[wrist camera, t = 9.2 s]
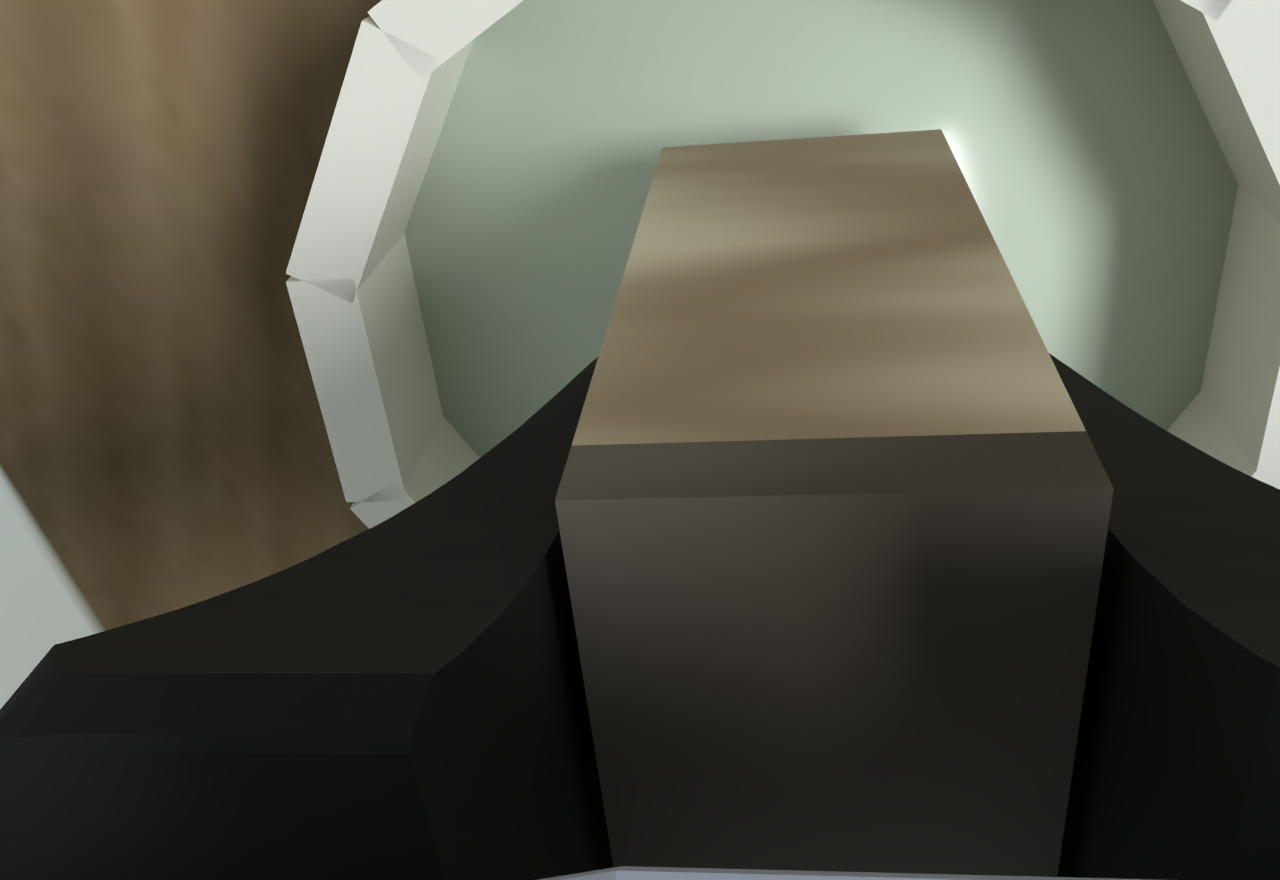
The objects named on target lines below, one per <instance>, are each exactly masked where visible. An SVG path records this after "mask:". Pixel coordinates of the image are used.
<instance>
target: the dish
mask: <svg viewBox="0 0 1280 880" xmlns="http://www.w3.org/2000/svg"><path fill="white" fill-rule="evenodd" d="M368 14H369V15H370V16H369V17H367V18H365V19H364V20H362V22H361V25H360V28H359V32H358V35H357V38H356V42H355V45H354V48H353V52H352V55H351V58H350V62H349V65H348V68H347V72H346V75H345V78H344V81H343V85H342V88H341V91H340V95H339V98H338V101H337V105H336V108H335V111H334V115H333V118H332V121H331V125H330V128H329V131H328V135H327V138H326V141H325V145H324V148H323V151H322V154H321V158H320V161H319V164H318V168H317V171H316V174H315V178H314V181H313V184H312V188H311V191H310V194H309V198H308V201H307V204H306V208H305V211H304V214H303V218H302V221H301V224H300V227H299V231H298V234H297V237H296V241H295V244H294V247H293V251H292V254H291V257H290V261H289V264H288V267H287V271H286V274H288V275H290V276H291V277H290V278H289V279H288V280H287V281H286V285H287V288H288V292H289V296H290V299H291V303H292V307H293V310H294V314H295V318H296V321H297V325H298V329H299V332H300V336H301V339H302V343H303V347H304V350H305V354H306V358H307V361H308V365H309V369H310V372H311V376H312V379H313V383H314V387H315V390H316V394H317V398H318V401H319V405H320V409H321V412H322V416H323V420H324V423H325V427H326V430H327V434H328V438H329V441H330V445H331V449H332V452H333V456H334V460H335V463H336V467H337V470H338V474H339V478H340V481H341V485H342V489H343V492H344V496H345V500H346V502H354V503H353V504H352V506H351V508H350V509H351V510H352V511H353V512H354V513H355V514H356V516H357V517H358V518H359V519H360V520H361V521H362V522H363V523H364V524H365V525H366V526H367V527H368V528H369V529H370V528H372V527H374V526H376V525H378V524H380V523H382V522H384V521H385V520H387V519H389V518H391V517H392V516H394V515H396V514H397V513H399V512H401V511H402V510H404V509H406V508H407V507H409V506H411V505H412V504H414V503H416V502H417V501H419V500H421V499H422V498H424V497H425V496H427V495H429V494H430V493H432V492H433V491H435V490H436V489H438V488H439V487H441V486H442V485H444V484H445V483H447V482H448V481H450V480H451V479H453V478H454V477H455V476H457V475H458V474H460V473H461V472H463V471H464V470H465V469H466V468H468V467H469V466H470V465H472V464H473V463H474V462H475V461H477V460H478V459H479V458H481V457H482V456H483V455H484V454H486V453H487V452H488V451H490V450H491V449H492V448H493V447H495V446H496V445H497V444H499V443H500V442H501V441H502V440H504V439H505V438H506V437H508V436H509V435H510V434H511V433H513V432H514V431H515V430H516V429H518V428H519V427H520V426H521V425H522V424H524V423H525V422H526V421H527V420H528V419H529V418H530V417H531V416H533V415H534V414H535V413H536V412H537V411H538V410H539V409H540V408H542V407H543V406H544V405H545V404H546V403H547V402H548V401H549V400H551V399H552V398H553V397H554V396H555V395H556V394H557V393H558V392H560V391H561V390H562V389H563V388H564V387H565V386H566V385H567V384H568V383H569V382H570V381H571V380H572V379H574V378H575V377H576V376H577V375H578V374H579V373H580V372H581V371H582V370H583V369H584V368H585V367H587V366H588V365H589V364H590V363H591V362H592V361H593V360H595V359H596V358H597V357H598V356H599V354H600V350H601V347H602V344H603V340H604V337H605V334H606V331H607V327H608V324H609V321H610V317H611V314H612V311H613V308H614V304H615V301H616V298H617V294H618V291H619V288H620V285H621V281H622V278H623V275H624V271H625V268H626V265H627V262H628V258H629V255H630V252H631V249H632V245H633V242H634V239H635V235H636V232H637V229H638V226H639V222H640V219H641V216H642V212H643V209H644V206H645V203H646V199H647V196H648V193H649V189H650V186H651V183H652V180H653V176H654V173H655V170H656V166H657V163H658V160H659V157H660V153H661V150H662V147H677V146H692V145H707V144H723V143H738V142H753V141H769V140H784V139H799V138H815V137H830V136H845V135H861V134H876V133H891V132H907V131H922V130H937V129H941V130H942V132H943V134H944V136H945V138H946V140H947V142H948V144H949V146H950V149H951V151H952V153H953V155H954V157H955V159H956V161H957V163H958V165H959V167H960V169H961V171H962V174H963V176H964V178H965V180H966V182H967V184H968V186H969V188H970V190H971V192H972V194H973V196H974V199H975V201H976V203H977V205H978V207H979V209H980V211H981V213H982V215H983V217H984V219H985V221H986V224H987V226H988V228H989V230H990V232H991V234H992V236H993V238H994V240H995V242H996V244H997V246H998V249H999V251H1000V253H1001V255H1002V257H1003V259H1004V261H1005V263H1006V265H1007V267H1008V269H1009V271H1010V274H1011V276H1012V278H1013V280H1014V282H1015V284H1016V286H1017V288H1018V290H1019V292H1020V294H1021V296H1022V298H1023V301H1024V303H1025V305H1026V307H1027V309H1028V311H1029V313H1030V315H1031V317H1032V319H1033V321H1034V323H1035V326H1036V328H1037V330H1038V332H1039V334H1040V336H1041V338H1042V340H1043V342H1044V344H1045V346H1046V348H1047V351H1048V353H1050V354H1051V355H1053V356H1054V357H1056V358H1057V359H1058V360H1060V361H1061V362H1063V363H1064V364H1066V365H1067V366H1069V367H1070V368H1071V369H1073V370H1074V371H1076V372H1077V373H1079V374H1080V375H1081V376H1083V377H1084V378H1086V379H1087V380H1089V381H1090V382H1092V383H1093V384H1095V385H1096V386H1097V387H1099V388H1100V389H1102V390H1103V391H1105V392H1106V393H1108V394H1109V395H1111V396H1112V397H1114V398H1115V399H1117V400H1118V401H1120V402H1121V403H1123V404H1124V405H1126V406H1127V407H1129V408H1131V409H1132V410H1134V411H1135V412H1137V413H1138V414H1140V415H1142V416H1143V417H1145V418H1146V419H1148V420H1150V421H1151V422H1153V423H1155V424H1156V425H1158V426H1159V427H1161V428H1163V429H1164V430H1166V431H1168V432H1169V433H1171V434H1173V435H1175V436H1176V437H1178V438H1180V439H1182V440H1183V441H1185V442H1187V443H1189V444H1191V445H1192V446H1194V447H1196V448H1198V449H1199V450H1201V451H1203V452H1205V453H1207V454H1208V455H1210V456H1212V457H1214V458H1215V459H1217V460H1219V461H1221V462H1223V463H1225V464H1227V465H1229V466H1231V467H1233V468H1235V469H1237V470H1239V471H1241V472H1243V473H1245V474H1247V475H1249V476H1251V477H1253V478H1255V479H1257V480H1260V481H1262V482H1264V483H1266V484H1268V485H1271V486H1273V487H1275V488H1277V489H1280V0H381V1H380V2H379V3H378V4H376V5H375V6H374V7H373V8H372V9H370V10H369V11H368Z"/></svg>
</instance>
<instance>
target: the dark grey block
mask: <svg viewBox="0 0 1280 880" xmlns="http://www.w3.org/2000/svg"><path fill="white" fill-rule="evenodd" d="M1113 490H1114V488H1113V486H1112V484H1111V482H1110V480H1109V478H1108V476H1107V473H1106V471H1105V469H1104V467H1103V465H1102V463H1101V461H1100V459H1099V457H1098V455H1097V453H1096V451H1095V448H1094V446H1093V444H1092V442H1091V440H1090V438H1089V436H1088V434H1087V432H1086V430H1085V428H1084V426H1083V423H1082V421H1081V419H1080V417H1079V415H1078V413H1077V411H1076V409H1075V407H1074V405H1073V403H1072V401H1071V398H1070V396H1069V394H1068V392H1067V390H1066V388H1065V386H1064V384H1063V382H1062V380H1061V378H1060V376H1059V373H1058V371H1057V369H1056V367H1055V365H1054V363H1053V361H1052V359H1051V357H1050V355H1049V353H1048V351H1047V348H1046V346H1045V344H1044V342H1043V340H1042V338H1041V336H1040V334H1039V332H1038V330H1037V328H1036V326H1035V323H1034V321H1033V319H1032V317H1031V315H1030V313H1029V311H1028V309H1027V307H1026V305H1025V303H1024V301H1023V298H1022V296H1021V294H1020V292H1019V290H1018V288H1017V286H1016V284H1015V282H1014V280H1013V278H1012V276H1011V274H1010V271H1009V269H1008V267H1007V265H1006V263H1005V261H1004V259H1003V257H1002V255H1001V253H1000V251H999V249H998V246H997V244H996V242H995V240H994V238H993V236H992V234H991V232H990V230H989V228H988V226H987V224H986V221H985V219H984V217H983V215H982V213H981V211H980V209H979V207H978V205H977V203H976V201H975V199H974V196H973V194H972V192H971V190H970V188H969V186H968V184H967V182H966V180H965V178H964V176H963V174H962V171H961V169H960V167H959V165H958V163H957V161H956V159H955V157H954V155H953V153H952V151H951V149H950V146H949V144H948V142H947V140H946V138H945V136H944V134H943V132H942V130H941V129H937V130H922V131H907V132H891V133H876V134H861V135H845V136H830V137H815V138H799V139H784V140H769V141H753V142H738V143H723V144H707V145H692V146H677V147H662V150H661V153H660V157H659V160H658V163H657V166H656V170H655V173H654V176H653V180H652V183H651V186H650V189H649V193H648V196H647V199H646V203H645V206H644V209H643V212H642V216H641V219H640V222H639V226H638V229H637V232H636V235H635V239H634V242H633V245H632V249H631V252H630V255H629V258H628V262H627V265H626V268H625V271H624V275H623V278H622V281H621V285H620V288H619V291H618V294H617V298H616V301H615V304H614V308H613V311H612V314H611V317H610V321H609V324H608V327H607V331H606V334H605V337H604V340H603V344H602V347H601V350H600V354H599V357H598V360H597V363H596V367H595V370H594V373H593V377H592V380H591V383H590V386H589V390H588V393H587V396H586V400H585V403H584V406H583V409H582V413H581V416H580V419H579V423H578V426H577V429H576V432H575V436H574V439H573V442H572V445H571V449H570V452H569V455H568V459H567V462H566V465H565V468H564V472H563V475H562V478H561V482H560V485H559V488H558V491H557V495H556V498H555V505H556V511H557V517H558V524H559V530H560V536H561V542H562V549H563V555H564V561H565V567H566V574H567V580H568V586H569V592H570V599H571V605H572V611H573V617H574V624H575V630H576V636H577V642H578V649H579V655H580V661H581V667H582V674H583V680H584V686H585V692H586V699H587V705H588V711H589V717H590V724H591V730H592V736H593V742H594V749H595V755H596V761H597V767H598V774H599V780H600V786H601V792H602V799H603V805H604V811H605V817H606V824H607V830H608V836H609V842H610V849H611V855H612V861H613V867H620V866H635V867H675V868H715V869H755V870H795V871H835V872H875V873H915V874H955V875H995V876H1035V877H1057V875H1058V869H1059V862H1060V855H1061V848H1062V841H1063V834H1064V827H1065V820H1066V813H1067V807H1068V800H1069V793H1070V786H1071V779H1072V772H1073V765H1074V758H1075V751H1076V745H1077V738H1078V731H1079V724H1080V717H1081V710H1082V703H1083V696H1084V690H1085V683H1086V676H1087V669H1088V662H1089V655H1090V648H1091V641H1092V634H1093V628H1094V621H1095V614H1096V607H1097V600H1098V593H1099V586H1100V579H1101V573H1102V566H1103V559H1104V552H1105V545H1106V538H1107V531H1108V524H1109V517H1110V511H1111V504H1112V497H1113Z"/></svg>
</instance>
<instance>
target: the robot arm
mask: <svg viewBox="0 0 1280 880" xmlns="http://www.w3.org/2000/svg"><path fill="white" fill-rule="evenodd" d="M1049 355H1050V357H1051V359H1052V361H1053V363H1054V365H1055V367H1056V369H1057V371H1058V373H1059V376H1060V378H1061V380H1062V382H1063V384H1064V386H1065V388H1066V390H1067V392H1068V394H1069V396H1070V398H1071V401H1072V403H1073V405H1074V407H1075V409H1076V411H1077V413H1078V415H1079V417H1080V419H1081V421H1082V423H1083V426H1084V428H1085V430H1086V432H1087V434H1088V436H1089V438H1090V440H1091V442H1092V444H1093V446H1094V448H1095V451H1096V453H1097V455H1098V457H1099V459H1100V461H1101V463H1102V465H1103V467H1104V469H1105V471H1106V473H1107V476H1108V478H1109V480H1110V482H1111V484H1112V486H1113V488H1114V490H1113V497H1112V504H1111V511H1110V517H1109V524H1108V531H1107V538H1106V545H1105V552H1104V559H1103V566H1102V573H1101V579H1100V586H1099V593H1098V600H1097V607H1096V614H1095V621H1094V628H1093V634H1092V641H1091V648H1090V655H1089V662H1088V669H1087V676H1086V683H1085V690H1084V696H1083V703H1082V710H1081V717H1080V724H1079V731H1078V738H1077V745H1076V751H1075V758H1074V765H1073V772H1072V779H1071V786H1070V793H1069V800H1068V807H1067V813H1066V820H1065V827H1064V834H1063V841H1062V848H1061V855H1060V862H1059V869H1058V875H1057V877H1035V876H995V875H955V874H915V873H875V872H835V871H795V870H755V869H715V868H675V867H635V866H620V867H613V861H612V855H611V849H610V842H609V836H608V830H607V824H606V817H605V811H604V805H603V799H602V792H601V786H600V780H599V774H598V767H597V761H596V755H595V749H594V742H593V736H592V730H591V724H590V717H589V711H588V705H587V699H586V692H585V686H584V680H583V674H582V667H581V661H580V655H579V649H578V642H577V636H576V630H575V624H574V617H573V611H572V605H571V599H570V592H569V586H568V580H567V574H566V567H565V561H564V555H563V549H562V542H561V536H560V530H559V524H558V517H557V511H556V505H555V498H556V495H557V491H558V488H559V485H560V482H561V478H562V475H563V472H564V468H565V465H566V462H567V459H568V455H569V452H570V449H571V445H572V442H573V439H574V436H575V432H576V429H577V426H578V423H579V419H580V416H581V413H582V409H583V406H584V403H585V400H586V396H587V393H588V390H589V386H590V383H591V380H592V377H593V373H594V370H595V367H596V363H597V360H598V357H599V356H598V357H597V358H596V359H595V360H593V361H592V362H591V363H590V364H589V365H588V366H587V367H585V368H584V369H583V370H582V371H581V372H580V373H579V374H578V375H577V376H576V377H575V378H574V379H572V380H571V381H570V382H569V383H568V384H567V385H566V386H565V387H564V388H563V389H562V390H561V391H560V392H558V393H557V394H556V395H555V396H554V397H553V398H552V399H551V400H549V401H548V402H547V403H546V404H545V405H544V406H543V407H542V408H540V409H539V410H538V411H537V412H536V413H535V414H534V415H533V416H531V417H530V418H529V419H528V420H527V421H526V422H525V423H524V424H522V425H521V426H520V427H519V428H518V429H516V430H515V431H514V432H513V433H511V434H510V435H509V436H508V437H506V438H505V439H504V440H502V441H501V442H500V443H499V444H497V445H496V446H495V447H493V448H492V449H491V450H490V451H488V452H487V453H486V454H484V455H483V456H482V457H481V458H479V459H478V460H477V461H475V462H474V463H473V464H472V465H470V466H469V467H468V468H466V469H465V470H464V471H463V472H461V473H460V474H458V475H457V476H455V477H454V478H453V479H451V480H450V481H448V482H447V483H445V484H444V485H442V486H441V487H439V488H438V489H436V490H435V491H433V492H432V493H430V494H429V495H427V496H425V497H424V498H422V499H421V500H419V501H417V502H416V503H414V504H412V505H411V506H409V507H407V508H406V509H404V510H402V511H401V512H399V513H397V514H396V515H394V516H392V517H391V518H389V519H387V520H385V521H384V522H382V523H380V524H378V525H376V526H374V527H372V528H370V529H368V530H366V531H364V532H362V533H360V534H358V535H356V536H354V537H352V538H350V539H348V540H346V541H344V542H342V543H340V544H338V545H336V546H334V547H332V548H330V549H328V550H326V551H324V552H322V553H320V554H318V555H316V556H314V557H312V558H310V559H308V560H306V561H303V562H301V563H299V564H297V565H294V566H292V567H290V568H287V569H285V570H282V571H280V572H278V573H275V574H273V575H270V576H268V577H265V578H263V579H261V580H258V581H256V582H253V583H251V584H248V585H245V586H243V587H240V588H237V589H235V590H232V591H229V592H226V593H224V594H221V595H218V596H216V597H213V598H210V599H208V600H205V601H202V602H199V603H196V604H193V605H190V606H187V607H184V608H181V609H178V610H175V611H172V612H168V613H165V614H162V615H158V616H155V617H151V618H148V619H145V620H141V621H138V622H134V623H131V624H128V625H124V626H121V627H117V628H114V629H111V630H107V631H104V632H100V633H97V634H94V635H90V636H87V637H83V638H80V639H76V640H72V641H68V642H64V643H60V644H56V645H54V646H53V647H52V648H51V650H50V651H49V652H48V653H47V654H46V656H45V657H44V658H43V659H42V660H41V661H40V663H39V664H38V665H37V666H36V667H35V669H34V670H33V671H32V672H31V673H30V675H29V676H28V677H27V678H26V680H25V681H24V682H23V683H22V684H21V685H20V687H19V688H18V689H17V690H16V692H15V693H14V694H13V695H12V696H11V698H10V699H9V700H8V701H7V702H6V704H5V705H4V706H3V707H2V708H1V710H0V880H1280V489H1277V488H1275V487H1273V486H1271V485H1268V484H1266V483H1264V482H1262V481H1260V480H1257V479H1255V478H1253V477H1251V476H1249V475H1247V474H1245V473H1243V472H1241V471H1239V470H1237V469H1235V468H1233V467H1231V466H1229V465H1227V464H1225V463H1223V462H1221V461H1219V460H1217V459H1215V458H1214V457H1212V456H1210V455H1208V454H1207V453H1205V452H1203V451H1201V450H1199V449H1198V448H1196V447H1194V446H1192V445H1191V444H1189V443H1187V442H1185V441H1183V440H1182V439H1180V438H1178V437H1176V436H1175V435H1173V434H1171V433H1169V432H1168V431H1166V430H1164V429H1163V428H1161V427H1159V426H1158V425H1156V424H1155V423H1153V422H1151V421H1150V420H1148V419H1146V418H1145V417H1143V416H1142V415H1140V414H1138V413H1137V412H1135V411H1134V410H1132V409H1131V408H1129V407H1127V406H1126V405H1124V404H1123V403H1121V402H1120V401H1118V400H1117V399H1115V398H1114V397H1112V396H1111V395H1109V394H1108V393H1106V392H1105V391H1103V390H1102V389H1100V388H1099V387H1097V386H1096V385H1095V384H1093V383H1092V382H1090V381H1089V380H1087V379H1086V378H1084V377H1083V376H1081V375H1080V374H1079V373H1077V372H1076V371H1074V370H1073V369H1071V368H1070V367H1069V366H1067V365H1066V364H1064V363H1063V362H1061V361H1060V360H1058V359H1057V358H1056V357H1054V356H1053V355H1051V354H1050V353H1049Z"/></svg>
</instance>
